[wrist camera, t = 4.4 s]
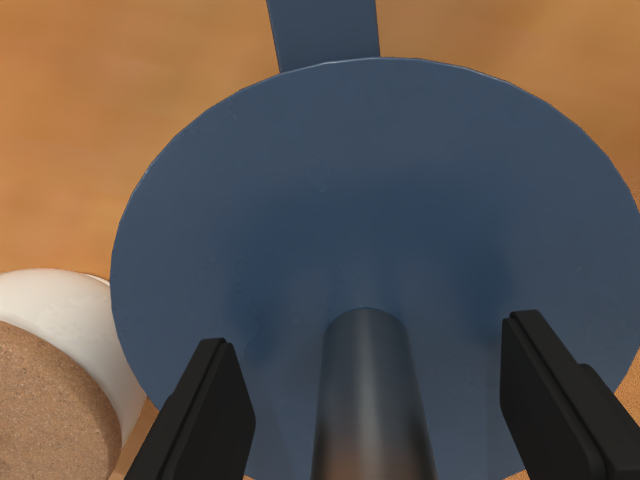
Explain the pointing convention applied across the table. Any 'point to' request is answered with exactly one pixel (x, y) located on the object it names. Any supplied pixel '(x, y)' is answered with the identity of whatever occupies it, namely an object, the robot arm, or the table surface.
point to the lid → (376, 262)
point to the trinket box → (62, 378)
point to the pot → (322, 31)
